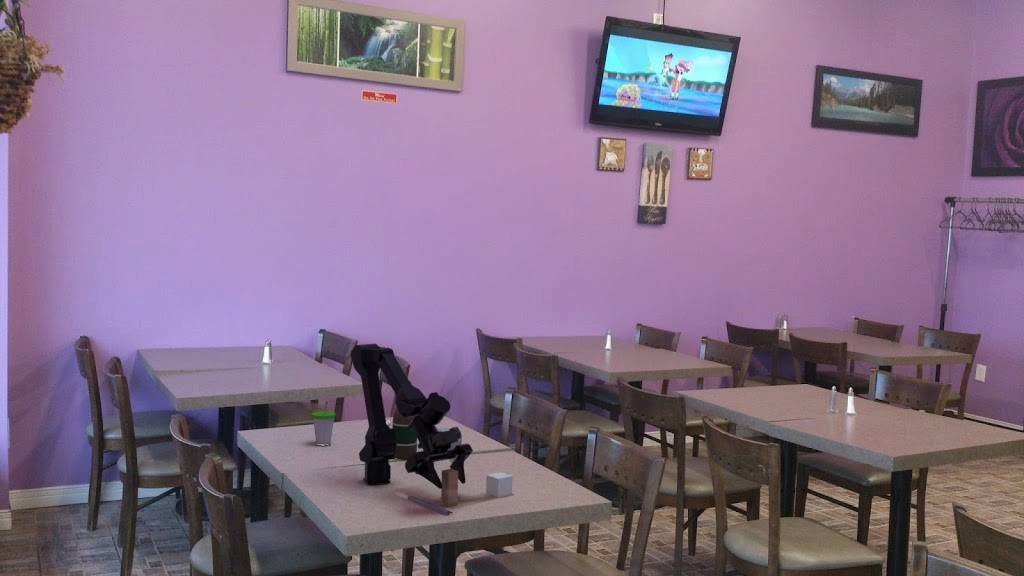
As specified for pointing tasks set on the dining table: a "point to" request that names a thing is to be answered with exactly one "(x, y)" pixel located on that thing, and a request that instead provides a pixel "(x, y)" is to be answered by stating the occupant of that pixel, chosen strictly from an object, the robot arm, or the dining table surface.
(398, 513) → the dining table surface
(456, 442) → the ceramic mug
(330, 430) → the cup
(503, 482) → the light blue-gray cube
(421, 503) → the lane rails
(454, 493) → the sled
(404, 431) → the beer bottle
